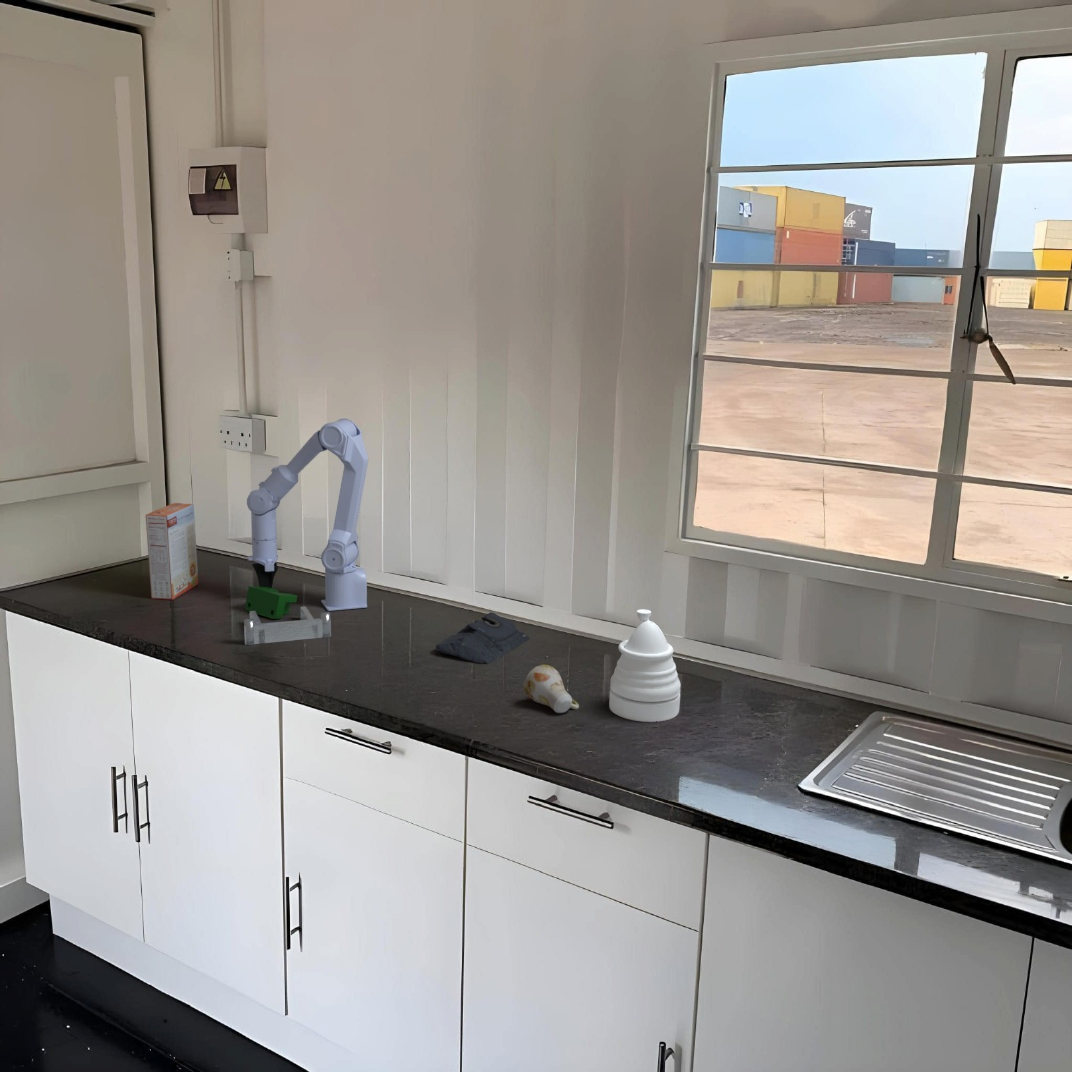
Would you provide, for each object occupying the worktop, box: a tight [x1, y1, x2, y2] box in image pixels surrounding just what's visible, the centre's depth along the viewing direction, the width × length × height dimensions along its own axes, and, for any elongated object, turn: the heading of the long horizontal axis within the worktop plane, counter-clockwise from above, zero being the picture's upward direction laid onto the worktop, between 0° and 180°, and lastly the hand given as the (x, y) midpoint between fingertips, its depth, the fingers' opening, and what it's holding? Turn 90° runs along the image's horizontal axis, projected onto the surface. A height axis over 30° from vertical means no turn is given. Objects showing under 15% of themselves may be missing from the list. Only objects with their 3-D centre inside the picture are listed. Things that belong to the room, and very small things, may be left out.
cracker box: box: [145, 502, 199, 601], centre depth 251 cm, size 14×6×21 cm, turn 172°
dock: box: [243, 606, 332, 646], centre depth 226 cm, size 18×14×5 cm
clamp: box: [244, 585, 298, 620], centre depth 239 cm, size 12×6×9 cm, turn 46°
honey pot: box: [608, 608, 682, 723], centre depth 189 cm, size 13×13×18 cm
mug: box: [522, 664, 580, 714], centre depth 190 cm, size 8×10×10 cm
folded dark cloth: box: [435, 611, 531, 665], centre depth 222 cm, size 15×22×5 cm
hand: (265, 593), depth 249 cm, fingers closed
